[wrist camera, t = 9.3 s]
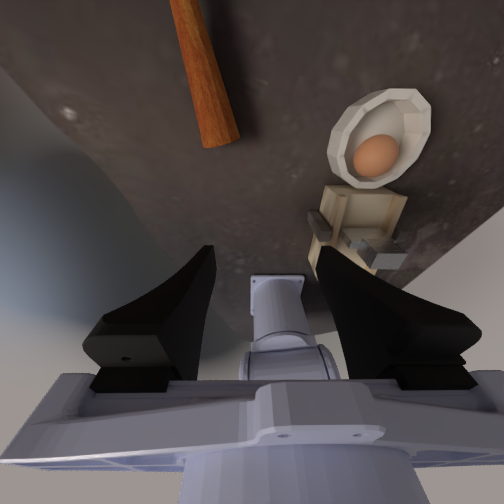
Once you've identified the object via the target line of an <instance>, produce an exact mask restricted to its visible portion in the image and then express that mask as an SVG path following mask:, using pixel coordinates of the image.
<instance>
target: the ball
mask: <svg viewBox="0 0 504 504" xmlns="http://www.w3.org/2000/svg"><path fill="white" fill-rule="evenodd" d="M398 156H399V145H398V143H397V141H396V140H395V139H394V138H393V137H391V136H389V135H385V134H379V135H375V136H372V137H370V138H368V139H366V140H365V141H364V142H363V143H362V144H361V145H360V146H359V147H358V148H357V150H356V152H355V154H354V158H353V164H354V168H355V170H356V171H357V172H358V173H359V174H360V175H362V176H364V177H377V176H380V175H382V174H384V173H386V172H387V171H389V170H390V169H391V168H392V167H393V165H394V164H395V163H396V161H397V159H398Z"/></svg>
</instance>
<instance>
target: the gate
mask: <svg viewBox="0 0 504 504" xmlns="http://www.w3.org/2000/svg"><path fill="white" fill-rule="evenodd" d="M338 235H339V236H340V237H341V239H342V240H343V241H344V243H345V244H346V245H347V247H348V248H349V249H357V251H356V253H357V254H358V255H359V256H360V258H361V259H362V260H363V261H364V263H365V264H366V265H367V266H368V268H369V269H399V267H400V266H401V264H402V263H403V261H404V259H405V258H406V256H407V255H408V253H407V252H406V251H404V250H403V249H402V248H401V247H400V246H398V245H397V244H396V243H395V242H396V241H395V240H394V239H393V238H391V237H390V236H389V235H388V234H387V233H385V232H384V231H383V230H382V229H381V228H340V231H339V234H338Z"/></svg>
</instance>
